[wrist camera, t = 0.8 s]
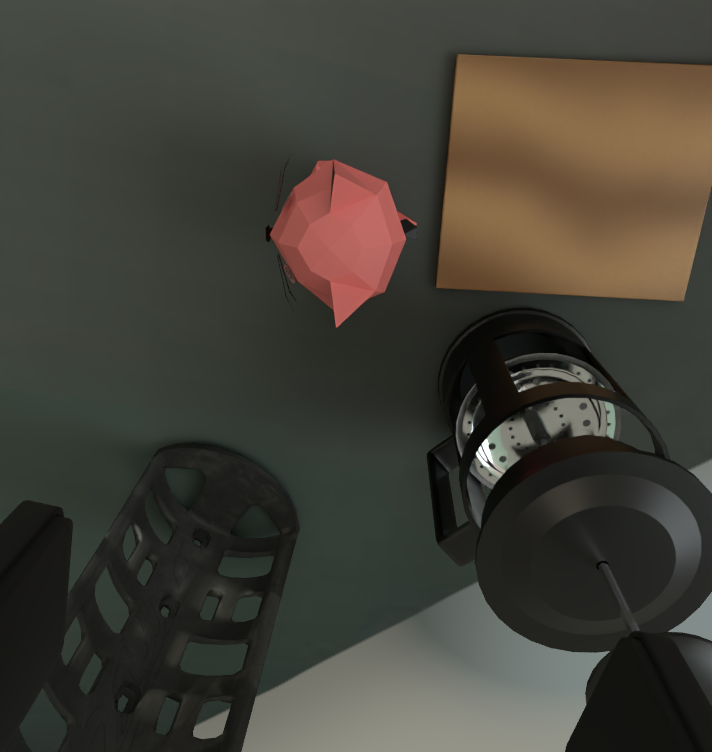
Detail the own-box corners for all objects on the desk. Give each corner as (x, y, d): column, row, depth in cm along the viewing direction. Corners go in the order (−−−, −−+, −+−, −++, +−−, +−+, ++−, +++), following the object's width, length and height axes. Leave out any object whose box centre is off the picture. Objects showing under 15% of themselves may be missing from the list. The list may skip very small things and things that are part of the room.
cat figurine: (288, 143, 34) (240, 156, 23) (416, 144, 34) (429, 157, 23) (292, 272, 37) (251, 340, 26) (411, 274, 37) (421, 343, 26)
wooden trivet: (456, 54, 32) (457, 53, 32) (736, 67, 32) (741, 66, 31) (435, 286, 37) (435, 288, 36) (680, 299, 36) (683, 301, 36)
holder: (325, 490, 42) (249, 810, 24) (283, 564, 45) (188, 893, 28) (169, 420, 41) (-31, 704, 23) (137, 502, 44) (-58, 804, 26)
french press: (546, 267, 36) (771, 483, 15) (633, 386, 39) (935, 718, 17) (385, 386, 39) (380, 704, 18) (475, 489, 42) (564, 875, 21)
